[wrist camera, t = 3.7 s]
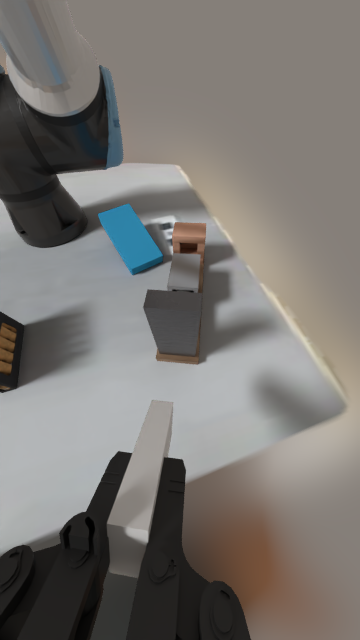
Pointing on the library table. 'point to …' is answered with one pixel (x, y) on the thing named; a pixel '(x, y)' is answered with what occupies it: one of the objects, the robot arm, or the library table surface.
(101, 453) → the library table surface
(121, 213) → the blue block
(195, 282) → the wooden bar with block
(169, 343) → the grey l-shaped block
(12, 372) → the ammunition clip
